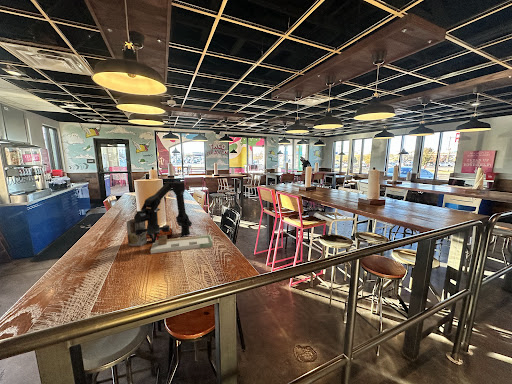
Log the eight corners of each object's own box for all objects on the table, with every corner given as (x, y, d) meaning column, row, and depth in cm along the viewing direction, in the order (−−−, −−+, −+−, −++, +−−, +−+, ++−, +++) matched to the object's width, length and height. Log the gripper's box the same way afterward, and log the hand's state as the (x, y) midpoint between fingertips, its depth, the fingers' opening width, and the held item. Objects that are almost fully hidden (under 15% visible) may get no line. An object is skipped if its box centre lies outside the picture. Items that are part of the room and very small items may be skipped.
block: (159, 242, 135) (159, 235, 134) (167, 241, 136) (166, 235, 135) (158, 245, 130) (158, 238, 130) (166, 244, 132) (166, 237, 131)
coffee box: (147, 242, 141) (145, 219, 139) (141, 246, 135) (139, 221, 132) (134, 241, 142) (132, 218, 140) (127, 245, 135) (125, 221, 133)
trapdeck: (153, 245, 135) (153, 240, 134) (210, 239, 146) (210, 234, 146) (150, 253, 124) (150, 247, 123) (212, 246, 135) (212, 240, 134)
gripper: (132, 223, 119) (134, 249, 121) (167, 221, 125) (169, 245, 127) (136, 218, 129) (138, 242, 131) (169, 216, 135) (170, 239, 137)
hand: (154, 242), depth 131 cm, fingers closed
